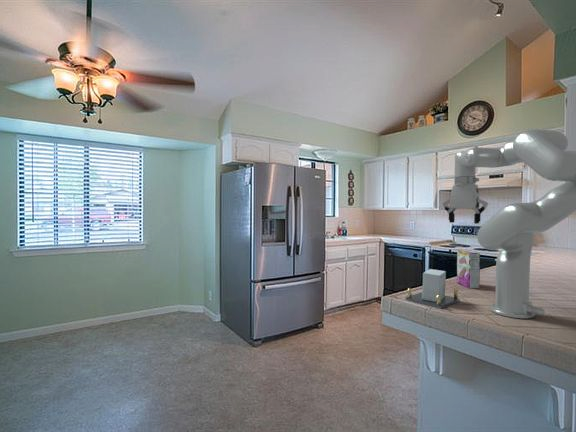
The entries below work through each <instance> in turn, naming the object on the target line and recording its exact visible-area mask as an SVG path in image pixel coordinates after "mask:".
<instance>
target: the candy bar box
mask: <svg viewBox="0 0 576 432" xmlns="http://www.w3.org/2000/svg"><path fill="white" fill-rule="evenodd" d="M456 257H457V258H456V283H458V284H459V285H462V286H464V287H466V288H468V289H470V290H471V289H472V290H473V289H480V282H481V281H480V280H481V279H480V275H481V274H480V271H481V266H480V265H481V264H480V263H481V261H480V260H481V254H480V252H479V251H478V252H477V251H473V250H470V249H462V248H461V249H457V250H456Z"/></svg>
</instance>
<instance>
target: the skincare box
mask: <svg viewBox="0 0 576 432" xmlns="http://www.w3.org/2000/svg"><path fill="white" fill-rule="evenodd" d="M446 274H447V271H446V270H439V269H432V268H429V269H427V270H426V271H424V272H423V273H422V291H421V292H422V299H423V300H428V301H434V302H437V295H441V300H442V299H443V298H444V297H445V296H446V282H447V281H446V278H447V277H446V276H447V275H446Z"/></svg>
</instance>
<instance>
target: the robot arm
mask: <svg viewBox="0 0 576 432" xmlns="http://www.w3.org/2000/svg"><path fill="white" fill-rule="evenodd" d="M568 146H569V140H568V137H567V136H566V134H564V133H562V132H560V131H556V130H550V129H535V128H534V129H532V128H530V129H527V130H524V131H522V132H520V133H519V134H518V135H517V136H516V137H515V138H514V137H513V138H511V139H509V140H508V141H507V142H506V143H505V144H504V146H502V147H495V148H494V147H493V148H492V147H477V146H476V147H470V148H468V149H467V150H464V151H463V150H462V151H458V152H456V153H455V155H454V183H453V185H452V187H451V193H450V198H449V199H448V200H445V201H444V202H443V203H442V205H443V208H444V210H445V211H446V212H447V213H448V221H449V223H452V224H453V223H455V217H456V216H455V213H454V212H455V211H456V210H457V209H458V210H461V209H462V210H468V209H469V210H473V211H474V212H475V213H474V215H473V216H474V217H473V218H474V221H473V222H474V225H475V224H476V225H477V224H480V222H481V214H482V213H483V212H484V211H485V210H486V209H487V207H488V206H489V202H488V201H486V200H483V199H481V198H480V189H479V185H478V184H477V182H479V181H480V178H479V177H476V174H477V173H476V168H490V169H491V168H493V169H494V168H502V167H511V166H515V165H517V164H520V163H523V164H526V165H527V166H528V167H529V168H530V169H532V170H533V172H535V173H536V174H537V175H538V176H540V177H541V178H543V179H545V180H547V181H550V182H563V183H562V184H560V185H558V186H556V187H554V188H552V189H550V190H549V191H548V192H546V193H545V194H544V195H543V196H541V197H540V198H539V199H537V200H535V201H531V202H514V203H510V204H507V205H506V206H504V207H502V208H501V209H499V211H497V212H496V213H494V215H493V216H491V217H490V218H489V219H487V220H486V221H485V222H484V223H483V224H482V225H481V226H480V227H479V229H478V232H477V235H476V237H477V238H476V239H477V242H478V243H479V245H480V246H481V247H482V248H483V249H486V250H489V251H499V252H498V254H497V256H496V262H495V263H496V264H495V295H494V296H495V299H494V301H495V303H493V304H490V306H489V310H490V311H491V312H492V313H495V314H497V315H500V316H504V317H508V318H512V319H513V318H514V319H532V318H534V317H535V315H536V314H537V315H542V316H545V314H546V309H544V308H543V307H539V306H535V305H534V304H533V302H532V301H530V278H531V277H530V276H531V274H530V273H531V271H530V270H531V256H532V251H533V246H534V243H535V234H536V233H537V234H538V233H542V232H546V231H548V230H550V229H552V228H553V227H554V226H556V225H557V224H559V223H560V222H562V221H563V220H565V219H567V218H568V217H570V216H571V215H572V214H574V213H575V212H576V150H567V148H568ZM481 204H482V205H481ZM449 206H450V207H449ZM480 206H481V207H480ZM534 233H535V234H534Z"/></svg>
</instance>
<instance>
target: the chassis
mask: <svg viewBox="0 0 576 432" xmlns="http://www.w3.org/2000/svg"><path fill="white" fill-rule="evenodd" d="M412 289H413V288H411V287H408V288H407V296H406V297H405V300H406V301H409V302H413V303H416V302H417V304H421V305H424V306H429V307H433V308H437V309H440V310H442V309H445V308H447V307H449V306H452V305H455V304H457V303H459V302H461V299H460V298H459V289H458V288H457V289H455V288H454V289H453V296H451V295H450V296H449V295H445V297H444V298H443V299H442V300H441V295H437V302H434V301H428V300H423V299H422V291H421V292H417V293H415V294H412V292H413V291H412Z"/></svg>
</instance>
